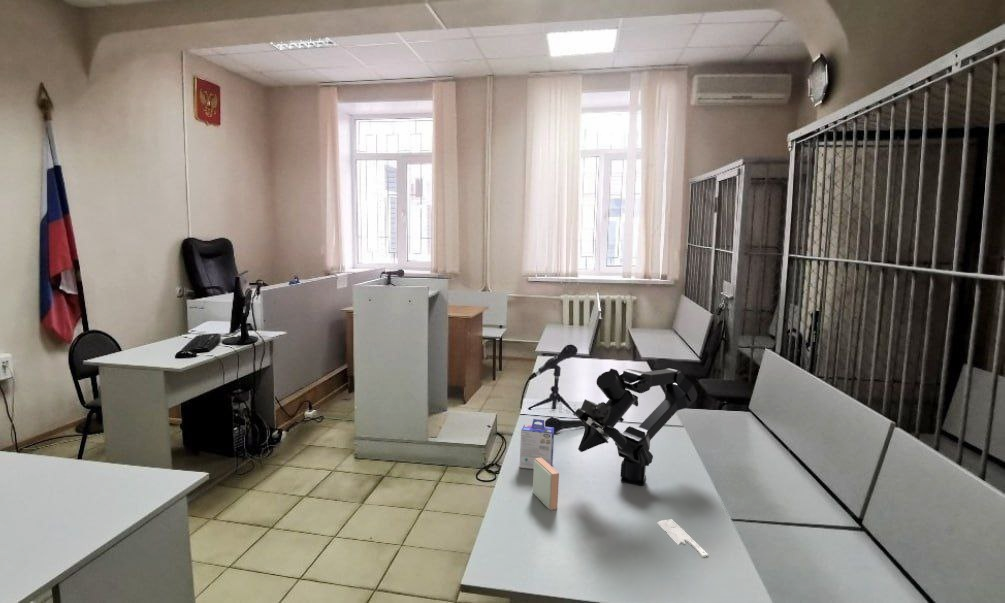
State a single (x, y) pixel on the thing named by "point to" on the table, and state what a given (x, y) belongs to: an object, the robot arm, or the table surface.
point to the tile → (545, 483)
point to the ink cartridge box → (536, 444)
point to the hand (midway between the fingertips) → (579, 450)
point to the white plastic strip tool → (680, 535)
